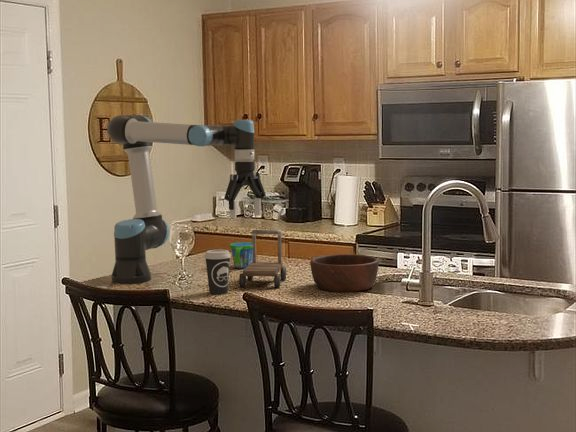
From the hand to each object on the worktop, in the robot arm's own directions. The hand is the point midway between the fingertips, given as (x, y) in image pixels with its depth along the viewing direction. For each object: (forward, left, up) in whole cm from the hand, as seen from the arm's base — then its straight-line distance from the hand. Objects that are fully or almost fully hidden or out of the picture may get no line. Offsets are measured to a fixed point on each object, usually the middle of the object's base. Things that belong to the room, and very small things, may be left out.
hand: (245, 216), depth 293 cm
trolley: (+7, -4, -25) cm, 26 cm away
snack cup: (-8, +29, -25) cm, 39 cm away
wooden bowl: (+38, -8, -25) cm, 46 cm away
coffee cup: (-6, -22, -25) cm, 34 cm away
